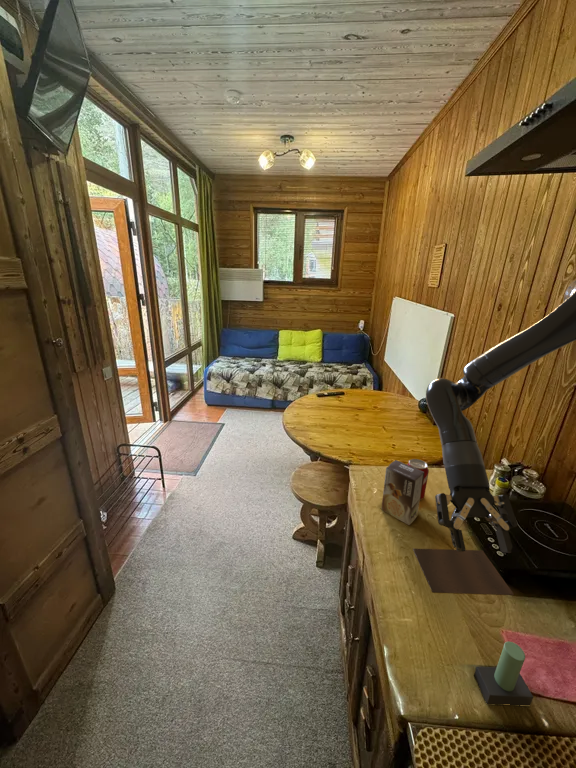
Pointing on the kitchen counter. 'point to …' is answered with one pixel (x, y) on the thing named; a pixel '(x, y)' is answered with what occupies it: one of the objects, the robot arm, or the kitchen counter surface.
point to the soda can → (423, 467)
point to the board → (460, 572)
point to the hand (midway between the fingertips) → (483, 552)
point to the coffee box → (402, 491)
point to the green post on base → (505, 679)
